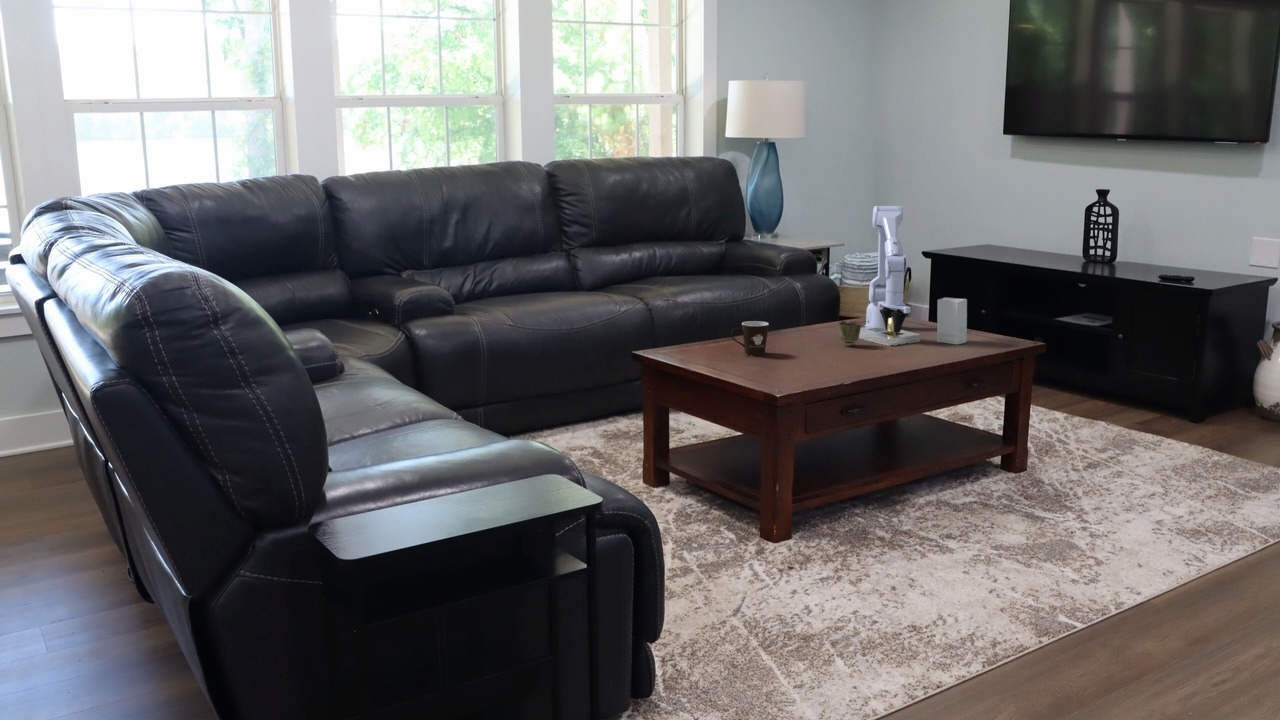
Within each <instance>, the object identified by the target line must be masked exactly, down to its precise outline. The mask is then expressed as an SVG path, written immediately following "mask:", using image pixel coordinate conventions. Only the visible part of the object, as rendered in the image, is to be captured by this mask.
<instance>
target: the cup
mask: <svg viewBox="0 0 1280 720" xmlns="http://www.w3.org/2000/svg"><path fill="white" fill-rule="evenodd" d="M861 328H862V322H860V321H856V320H854V321H853V320H850V321H849V322H847V321H846V320H845V321H843V320H841V321H839V322H838V331H839V333H838V334H839V339H841V340H842V341H843V345H844V347H848V348H851V347H854V346H855V344H856V342H857V340H858V339H859V335H860V329H861Z"/></svg>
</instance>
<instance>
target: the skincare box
mask: <svg viewBox="0 0 1280 720" xmlns="http://www.w3.org/2000/svg"><path fill="white" fill-rule="evenodd" d="M967 309H968V299H967V298H956V297H955V298H954V297H942V298H938V299H937V311H936V313H937V314H936V315H937V316H936V317H937V318H936V319H937V320H936V321H937V322H936V323H937V326H936V327H937V328H936V330H937V331H936V332H937V335H936V339H937V340H936V342H937V343H945V344H951V345H961V344H965V343H967V341H968V339H967V334H968V331H967V329H968V328H967V327H968V326H967V325H968V324H967V323H968V320H967V319H968V310H967Z"/></svg>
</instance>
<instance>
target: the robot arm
mask: <svg viewBox="0 0 1280 720" xmlns="http://www.w3.org/2000/svg"><path fill="white" fill-rule="evenodd" d="M903 219H904V209H903V207H902V205H874V207H873V209H872V228H873V229H874V230H877V234H878V245H877V247H878V249H877V251H878V253H877V254H878V255H877V256H878V257H877V276H876V277H874V278H873V279H872V280H871V281H870V282H869V288H868V301H869V302H870V303H868V306H867V307H866V312H865V313H866V315H865V324H864V325H863V327H864V326H865V327H870V326H878V325H883V326H885V329H886V330H887V325H888V317H893V322H894V332H900V331H901V330H902V326H903V324H904V322H905V319H906V317H907V316H908V315H909V314H911V306H909V305H906V304H905V303H904V286H905V285H904V284H905V283H904V282H905V273H906V272H907V266H908V265H907V256H906V255H905V253H904V252H903V250H904V249H903V244H902V240H901V239H900V238H899V237H898V236H899V235H898V229H899V228H900V226H901V225H902V223H903Z"/></svg>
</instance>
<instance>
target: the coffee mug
mask: <svg viewBox="0 0 1280 720" xmlns="http://www.w3.org/2000/svg"><path fill="white" fill-rule="evenodd" d="M735 331H740V332H741V334H742V339H743V342H740V341H739V340H737V339H736V338H735V337H734V336H733V334H734V332H735ZM768 333H769V322H766V321H759V320H758V321H757V320H753V321H752V320H751V321H750V320H749V321H743V322H742V323H741V328H739V327H734V328H733V329H731V332H730V337H731V339H732V340H733V341H734V342H736V343H737V344H739V345H741V346H742V347H743V348H744V349H743V350H744V355H745V354H747V355H746V356H748V355H753V356H752V357H760V356H759V355H762V356H765V355H764V354H766V348H767V347H766V346H767V339H768Z"/></svg>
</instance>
